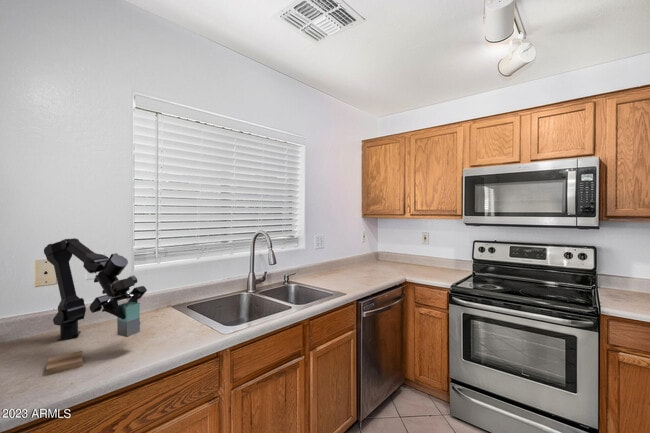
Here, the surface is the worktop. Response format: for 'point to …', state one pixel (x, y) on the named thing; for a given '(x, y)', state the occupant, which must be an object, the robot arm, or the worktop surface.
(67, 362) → the stand
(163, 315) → the worktop surface
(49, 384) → the worktop surface
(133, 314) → the teal block grey base
